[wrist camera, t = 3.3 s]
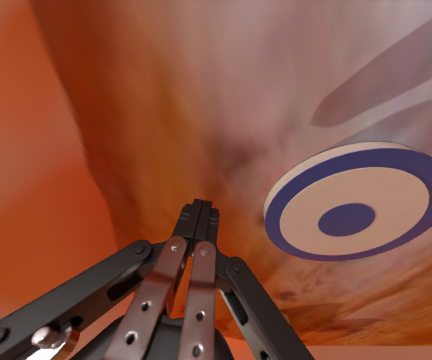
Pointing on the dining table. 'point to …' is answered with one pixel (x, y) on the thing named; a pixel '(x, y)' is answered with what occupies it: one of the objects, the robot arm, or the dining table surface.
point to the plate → (351, 202)
